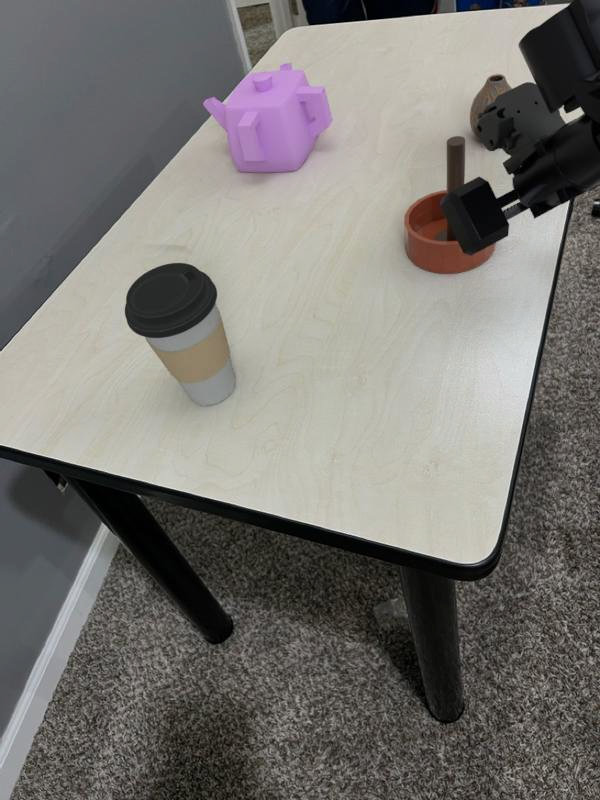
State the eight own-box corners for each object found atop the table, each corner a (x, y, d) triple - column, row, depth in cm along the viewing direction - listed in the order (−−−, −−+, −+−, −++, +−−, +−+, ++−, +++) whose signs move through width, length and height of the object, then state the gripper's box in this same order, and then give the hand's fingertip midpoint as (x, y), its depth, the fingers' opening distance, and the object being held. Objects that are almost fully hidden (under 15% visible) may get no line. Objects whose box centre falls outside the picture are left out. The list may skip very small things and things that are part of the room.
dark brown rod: (483, 242, 75) (489, 136, 65) (457, 262, 74) (458, 157, 63) (452, 228, 78) (453, 124, 67) (426, 248, 77) (423, 145, 66)
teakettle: (256, 191, 94) (235, 114, 85) (215, 152, 105) (192, 79, 95) (348, 148, 97) (337, 68, 88) (298, 114, 108) (284, 40, 98)
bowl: (477, 210, 80) (478, 180, 77) (509, 260, 73) (512, 229, 70) (396, 232, 81) (393, 203, 77) (420, 283, 74) (419, 253, 70)
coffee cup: (265, 367, 70) (229, 266, 58) (222, 429, 65) (174, 332, 54) (201, 349, 74) (155, 251, 62) (156, 406, 69) (98, 311, 58)
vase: (526, 138, 89) (532, 77, 82) (485, 154, 88) (488, 95, 82) (499, 120, 93) (503, 61, 87) (460, 136, 93) (461, 78, 86)
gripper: (627, 25, 52) (524, 111, 67) (452, 111, 48) (386, 181, 64) (680, 143, 53) (567, 201, 68) (513, 234, 49) (433, 274, 65)
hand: (490, 212), depth 66 cm, fingers open, 9 cm apart
